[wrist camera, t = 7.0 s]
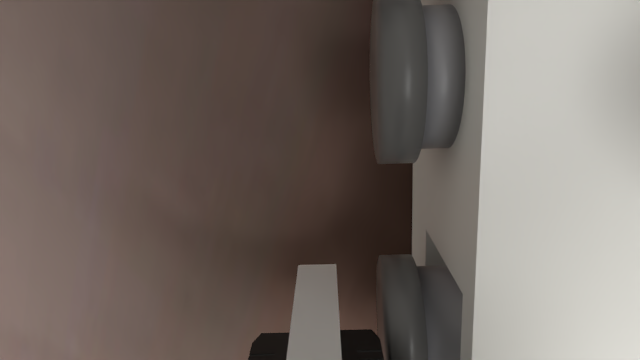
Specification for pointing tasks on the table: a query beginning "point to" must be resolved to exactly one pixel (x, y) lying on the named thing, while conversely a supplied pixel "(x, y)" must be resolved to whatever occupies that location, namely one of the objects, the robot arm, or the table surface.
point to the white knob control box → (520, 164)
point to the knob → (417, 310)
